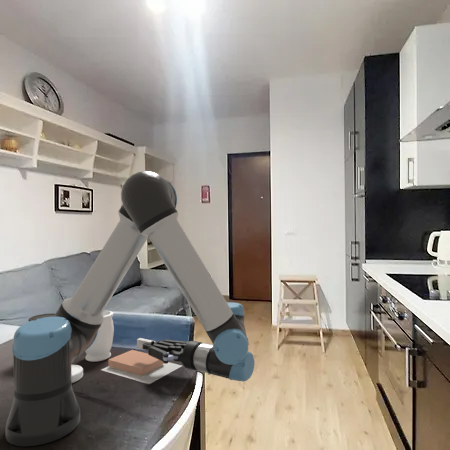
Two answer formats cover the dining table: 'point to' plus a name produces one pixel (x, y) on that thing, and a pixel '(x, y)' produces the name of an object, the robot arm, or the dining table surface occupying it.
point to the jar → (102, 340)
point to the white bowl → (76, 373)
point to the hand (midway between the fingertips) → (138, 342)
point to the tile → (135, 362)
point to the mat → (149, 376)
